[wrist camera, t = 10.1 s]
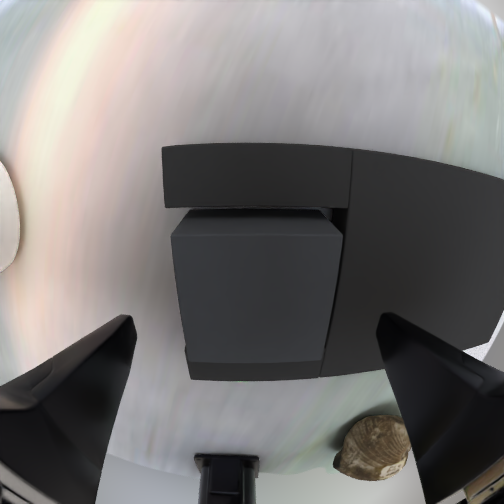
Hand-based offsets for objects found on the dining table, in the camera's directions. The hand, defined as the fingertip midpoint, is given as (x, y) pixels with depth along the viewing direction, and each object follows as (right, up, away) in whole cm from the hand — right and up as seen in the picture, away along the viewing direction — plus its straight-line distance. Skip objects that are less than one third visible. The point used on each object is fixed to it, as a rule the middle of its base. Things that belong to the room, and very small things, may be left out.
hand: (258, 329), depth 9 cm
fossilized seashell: (+11, -15, +12) cm, 22 cm away
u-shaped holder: (+7, +2, +5) cm, 9 cm away
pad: (0, +2, +4) cm, 5 cm away
